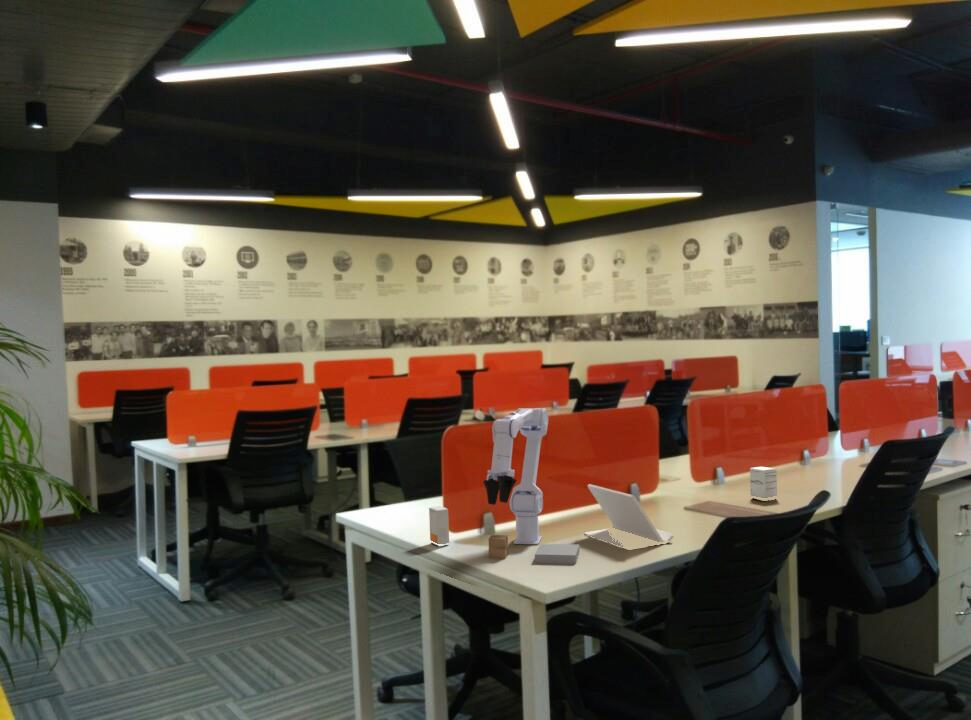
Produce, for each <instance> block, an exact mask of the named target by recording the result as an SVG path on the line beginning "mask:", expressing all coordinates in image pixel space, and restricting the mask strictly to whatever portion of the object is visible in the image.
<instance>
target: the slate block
mask: <svg viewBox="0 0 971 720" xmlns="http://www.w3.org/2000/svg"><path fill="white" fill-rule="evenodd" d="M580 549H581V548H580V544H567V543H566V544H564V543H563V544H562V543H561V544H560V543H559V544H557V543H539V546H538V548H537V550H536V551H535V554H534V563H535V564H561V565H564V564H565V565H577V562H578V560H577V559H579V557H578V556H580V554H579V553H581V551H580ZM573 563H574V564H573Z"/></svg>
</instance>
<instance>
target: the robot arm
mask: <svg viewBox="0 0 971 720" xmlns="http://www.w3.org/2000/svg"><path fill="white" fill-rule="evenodd" d="M516 409H517V410H516V411H510V412H509V415H506V416H504V418H502V419H501V418H498V419H496V420H494V421H493V424H492V427H491V428H492V429H491V431H492V442H493V449H492V458H491V459H492V460H491V468H490V469H488V470H487V475H486V479H485V480H483V485H484V487H485V491H486V496H487V504H488V505H492V506H493V505H494V506H495V505H496V504H497V500H498V499H499V503H503V504H504V503H505V504H508V501H509V509H510V511H511V512H512V513H513V515H514V516H515V534H516V537H515V540H514V541H513V545H539V544H540V541H541V540H542V538H543V536H542V535H540V531H539V528H540V527H539V526H540V525H539V514H541V513H542V510H543V507H544V498H543V496H544V493H543V491H542V490H541V488H539V487H538V486H537V485H536V484H537V477H538V470H539V469H538V468H539V462H540V461H539V460H540V454H541V453H540V452H541V445H542V440H543V437H545V436H546V435H547V432H548V425H549V413H548V410H547V408H545V407H542V408H537V407H536V408H529V407H527V408H522V407H519V408H516ZM519 431H520V432H519ZM518 433H520V434H521V435H522V436H524V437H526V442H525V451H524V457H523V465H522V472H521V479H520V480H521V481H520V483H519V484H518V485H516V486H515V484H516V483H517V481H518V480H517V479H515V478H514V477H515V469H512V456H513V446H514V438H515V439H516V438H517V435H518ZM514 486H515V487H514ZM511 492H512V493H511ZM510 495H511V496H510ZM498 496H499V497H498ZM509 498H510V499H509Z"/></svg>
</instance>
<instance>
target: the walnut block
mask: <svg viewBox="0 0 971 720" xmlns="http://www.w3.org/2000/svg"><path fill="white" fill-rule="evenodd" d="M508 556H509V535H508V534H491V535H490V536H489V538H488V559H492V558H497V559H498V558H500V559H501V560H502V559H503V560H506V559H507V557H508ZM498 560H499V559H498Z"/></svg>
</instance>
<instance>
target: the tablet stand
mask: <svg viewBox="0 0 971 720" xmlns="http://www.w3.org/2000/svg"><path fill="white" fill-rule="evenodd" d="M587 488H588V490H589V491H590V493H591V495H593V497H594V499H595V501H596V502H597V503H598V504H599V506H600V507H601V509H602V511H603V512H604V514H605V515H606V517H607V518H608V519H609V521H610V522H611V524H612V527H611V528H615V529H618V530H621V531H625V532H628V533H632V534H635V535H638V536H641V537H644V538H648V539H651V540H654V541H657V542H664V541H663V540H665V541H670V540H671V541H672V540H673V538H675V537H674V534H673V533H671V532H667V531H665V530H661V529H658V528H656V527H655V525H653V523H652V521H651V519H650V518H649V517H648V515H647V514H646V512H645V510H644V509H643V507H642V506H641V504H640V503H639V501H638V499H637V498H636V497H635V495H633V494H629V493H625V492H622V491H618V490H613V489H610V488H606V487H604V486H599V485H594V484H591V483H588V484H587ZM606 529H607V531H606ZM608 529H609V528H604V529H599V530H593V531H592V530H591V531H586V532H585V531H584V533H583V535H584V534H586V535H589V536H592V537H595V538H598V539H601V540H604V541H607V542H610V543H613V544H615V545H618V546H621V544H622V543H621V544H620V542H619V543H618V540H617V541H616V542H615V539H614V538H613V539H614V540H613V539H612V537H611V536H610V535H609V532H608ZM610 534H611V533H610ZM586 535H585V536H586ZM611 535H612V534H611ZM589 536H588V537H589ZM592 537H591V538H592ZM612 540H613V541H612ZM671 541H670V542H671ZM621 547H623V545H622V546H621Z"/></svg>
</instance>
